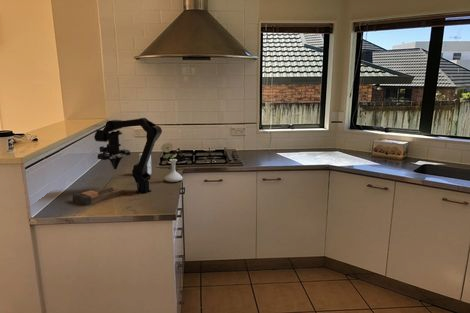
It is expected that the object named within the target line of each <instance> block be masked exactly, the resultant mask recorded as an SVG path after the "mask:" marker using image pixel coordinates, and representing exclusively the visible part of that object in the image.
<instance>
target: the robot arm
mask: <svg viewBox="0 0 470 313" xmlns="http://www.w3.org/2000/svg"><path fill="white" fill-rule="evenodd" d="M136 126H137V127H138V126H140V127H141V129H143V130H144V132H145V133H146V142H145V144H144V148H143V151H142V152H141V153H142V156H141V158H140V160H139V162H138V163H137V164H134V165H133V168H132V170H131V176H132V177H133V178H134V181H135V183H136V188H137V189H136V190H135V192H136V193H138V194H139V193H140V194H147V193H149V192H152V189H150V181H149V180H151V177H152V175H151V174H150V175H149V174H148V173H147V163H148V161H149V158H150V155H151V156H152V152H153V149H154V147H155V143H156V141H158V139H159V138H160V137H161V135H162V133H163V130H162V128H161V126H159V125H157V124H155V123H154V122H152V121H150V120H148V119H147V118H146V117H141V118H140V117H139V118H134V119H127V120H122V119H111V120H107V121H106V122H105V126H104V128H103V129H96V130H95V131H96V132H95V133H94V141H95V142H99V143H100V142H101V143H102V142H103V143H107V144H106V146H104V145H103V146H99V153H98V154H97V155H96V156H97V158H96V159H97V160H101V161H106V160H109V161H110V163H111V165H112V167H113V170H117V169H118V166H119V164H120V162H121V160H122V159H123V156H122V155H125V156H131V151H130V150H129V149H120V147H121V146H122V144H121V143H120V138H119V137H120V136H121V135H123V132H121V129H124V128H128V127H129V128H130V127H131V128H132V127H136Z"/></svg>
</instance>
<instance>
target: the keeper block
mask: <svg viewBox="0 0 470 313" xmlns="http://www.w3.org/2000/svg"><path fill="white" fill-rule="evenodd" d="M96 191H97V190H88V191H83V192H80V193H81V194H84V195H88V196H91V199H93V198H96V197H100V195H98V192H96Z"/></svg>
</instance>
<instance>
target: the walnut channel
mask: <svg viewBox="0 0 470 313" xmlns="http://www.w3.org/2000/svg"><path fill="white" fill-rule="evenodd" d="M95 191H96V192H98V196H99V197H96V198H93V199H91V196H88V195H84V194H81V193H82V192H75V193H72V202H74V203H76V204H80V205H82V206H89V205H92V204H95V203H98V202H102V201H105V200H109V199H113V198H115V197H118V196H122V195H124V194H125V190H124V189H121V190H117V191H114V187H113V186H110V187H106V188H103V189H100V190H95ZM113 191H114V192H113ZM103 193H104V194H103ZM100 194H101V195H100Z"/></svg>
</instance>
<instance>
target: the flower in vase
mask: <svg viewBox="0 0 470 313" xmlns="http://www.w3.org/2000/svg"><path fill="white" fill-rule="evenodd" d="M160 149H161V152H164V153H168V154H164V155H163V157H162V158H163V159H164V158H165V159H168V158H169V157H170V159H169V162H170V164H171V171H170V172H169V173H168V174H166V175H165V177H164V180H165V181H166V182H171V183H177V182H180V181H183V176H182V174H180V173H179V172H177V171H176V163H177V162H178V159H176V157H177V155H178V153H175V154H173V155H172V156H171V155H170V152H171V151H173V149H174V143H172V142H164V143H163V144H162V146H161V148H160Z"/></svg>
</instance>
